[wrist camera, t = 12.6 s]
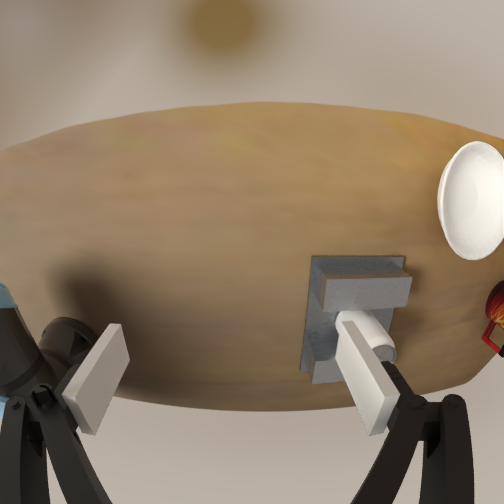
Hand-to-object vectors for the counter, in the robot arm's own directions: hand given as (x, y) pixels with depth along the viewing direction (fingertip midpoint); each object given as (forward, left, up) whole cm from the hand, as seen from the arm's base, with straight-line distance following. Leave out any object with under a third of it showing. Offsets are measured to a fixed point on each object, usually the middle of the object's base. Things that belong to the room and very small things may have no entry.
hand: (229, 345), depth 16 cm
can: (+19, -14, -27) cm, 36 cm away
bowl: (+39, +8, -28) cm, 48 cm away
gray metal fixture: (+19, -14, -27) cm, 36 cm away
